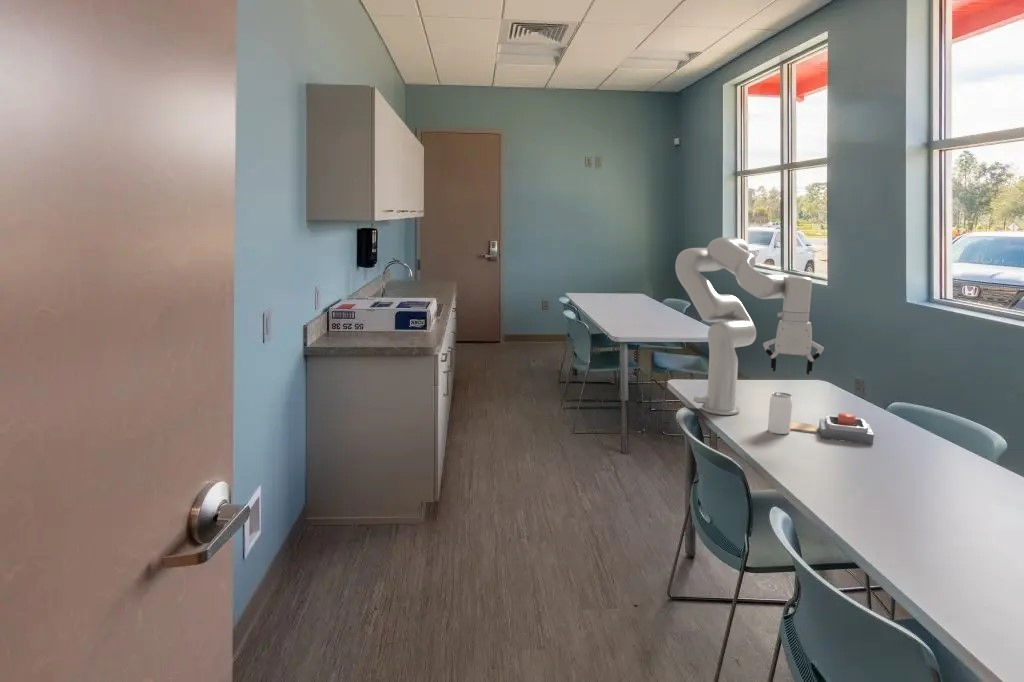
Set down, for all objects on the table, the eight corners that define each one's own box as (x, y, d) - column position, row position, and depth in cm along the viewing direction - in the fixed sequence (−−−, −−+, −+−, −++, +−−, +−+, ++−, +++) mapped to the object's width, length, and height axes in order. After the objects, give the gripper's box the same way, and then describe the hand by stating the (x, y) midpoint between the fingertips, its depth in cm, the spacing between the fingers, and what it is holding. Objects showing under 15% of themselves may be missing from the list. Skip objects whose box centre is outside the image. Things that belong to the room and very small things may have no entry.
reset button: (837, 425, 203) (838, 416, 202) (836, 421, 207) (837, 412, 207) (855, 427, 201) (856, 418, 201) (853, 423, 206) (854, 414, 205)
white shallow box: (821, 438, 202) (822, 424, 201) (818, 427, 213) (820, 414, 212) (872, 444, 197) (874, 429, 196) (868, 432, 208) (869, 419, 207)
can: (786, 429, 211) (789, 392, 209) (792, 435, 205) (795, 397, 203) (765, 428, 212) (768, 391, 210) (770, 434, 205) (773, 396, 203)
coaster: (788, 430, 210) (789, 428, 210) (788, 423, 217) (788, 421, 217) (816, 433, 207) (816, 431, 207) (815, 426, 214) (815, 424, 214)
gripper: (764, 316, 202) (760, 371, 205) (827, 320, 196) (821, 377, 199) (765, 314, 209) (761, 367, 212) (826, 317, 203) (821, 372, 205)
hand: (790, 371), depth 205 cm, fingers open, 9 cm apart
